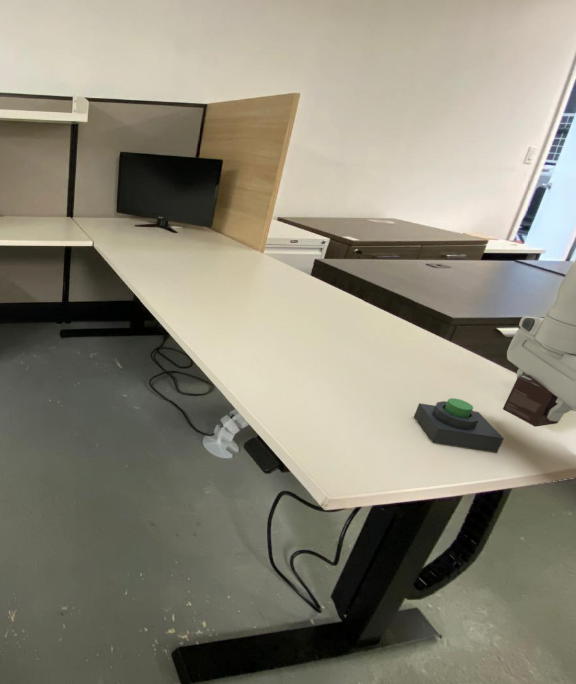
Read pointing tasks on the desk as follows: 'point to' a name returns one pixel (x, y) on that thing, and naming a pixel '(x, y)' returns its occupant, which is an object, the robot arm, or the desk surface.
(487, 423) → the button base
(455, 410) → the green button cap
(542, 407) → the box
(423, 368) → the desk surface
